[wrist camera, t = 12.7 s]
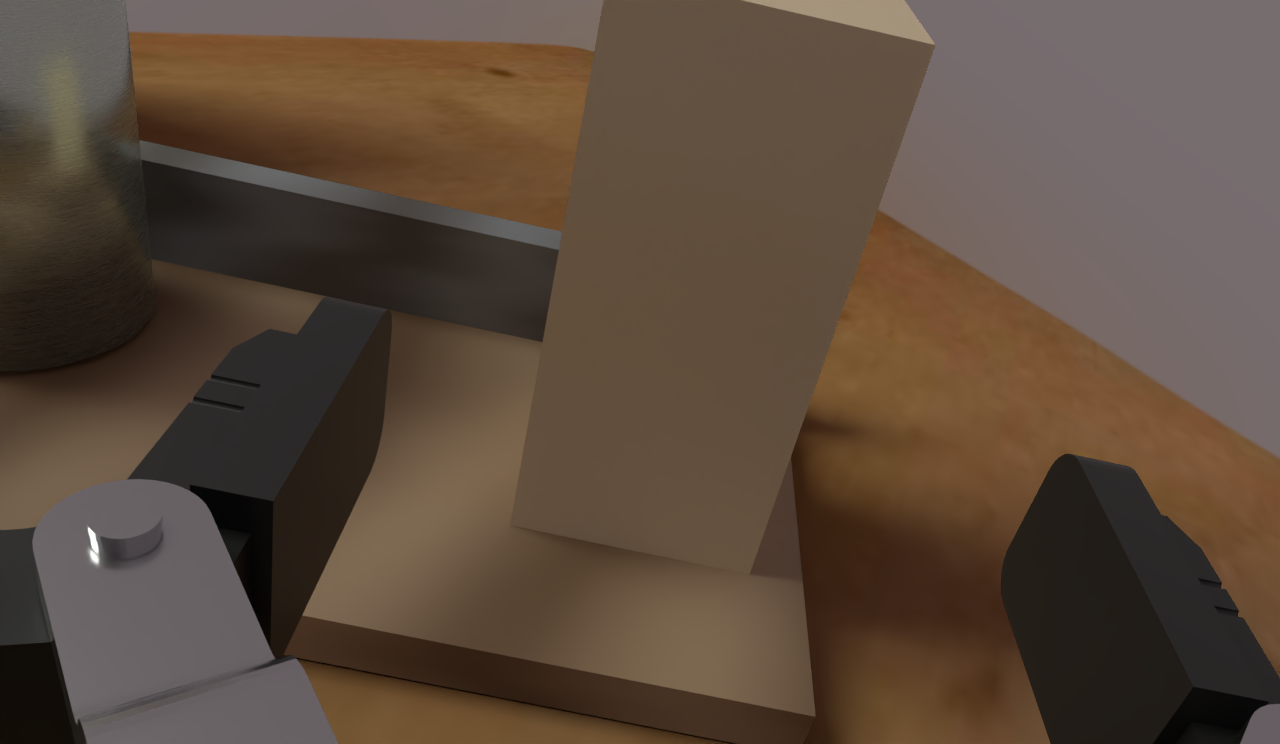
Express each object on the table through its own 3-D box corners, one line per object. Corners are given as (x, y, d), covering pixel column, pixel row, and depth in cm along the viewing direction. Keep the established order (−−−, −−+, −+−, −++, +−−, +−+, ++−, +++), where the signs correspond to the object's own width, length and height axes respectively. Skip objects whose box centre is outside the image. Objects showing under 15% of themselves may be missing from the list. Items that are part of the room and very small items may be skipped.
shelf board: (-422, 517, 20) (-505, 329, 17) (-6, 237, 31) (-24, 102, 29) (798, 755, 21) (864, 607, 19) (772, 401, 32) (810, 283, 30)
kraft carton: (509, 525, 23) (608, -31, 17) (547, 390, 28) (635, -80, 22) (749, 574, 23) (935, 44, 17) (746, 432, 28) (889, -21, 22)
